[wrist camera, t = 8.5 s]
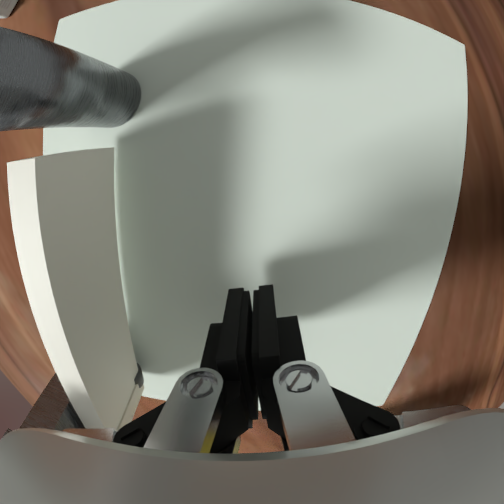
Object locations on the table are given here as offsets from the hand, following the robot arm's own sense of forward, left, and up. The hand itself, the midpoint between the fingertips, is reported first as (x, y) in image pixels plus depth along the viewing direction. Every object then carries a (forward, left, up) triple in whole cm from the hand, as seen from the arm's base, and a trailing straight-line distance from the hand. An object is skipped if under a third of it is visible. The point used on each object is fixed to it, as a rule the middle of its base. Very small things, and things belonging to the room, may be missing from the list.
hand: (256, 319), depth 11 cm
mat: (-3, -1, -2) cm, 3 cm away
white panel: (0, -6, -1) cm, 6 cm away
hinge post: (-8, -6, -2) cm, 10 cm away
